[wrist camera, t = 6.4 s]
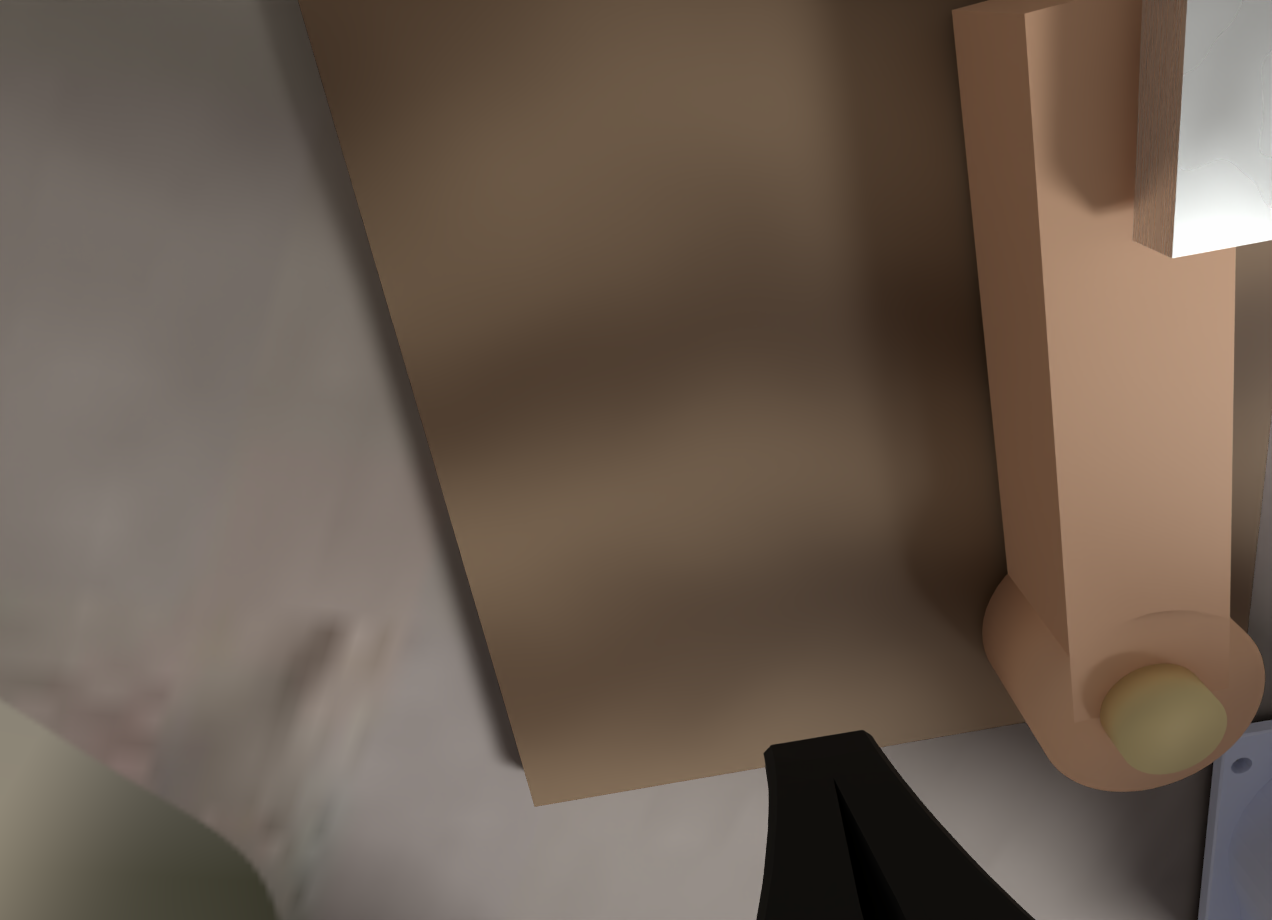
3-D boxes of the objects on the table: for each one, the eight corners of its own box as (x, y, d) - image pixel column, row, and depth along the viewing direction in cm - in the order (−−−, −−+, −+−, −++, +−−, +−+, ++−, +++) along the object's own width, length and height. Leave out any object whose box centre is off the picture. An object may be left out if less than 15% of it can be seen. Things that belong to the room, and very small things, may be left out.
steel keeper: (1279, 146, 18) (1506, 197, 14) (1028, 193, 18) (1172, 258, 14) (1305, -102, 16) (1573, -136, 12) (1027, -48, 17) (1191, -62, 12)
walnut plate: (1217, 659, 24) (1241, 684, 23) (536, 777, 25) (534, 806, 24) (1313, -350, 16) (1358, -371, 15) (272, -141, 16) (254, -148, 15)
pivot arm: (1181, 672, 23) (1288, 793, 19) (991, 716, 23) (1063, 842, 20) (1173, -50, 16) (1331, -60, 13) (910, 21, 17) (996, 28, 13)
